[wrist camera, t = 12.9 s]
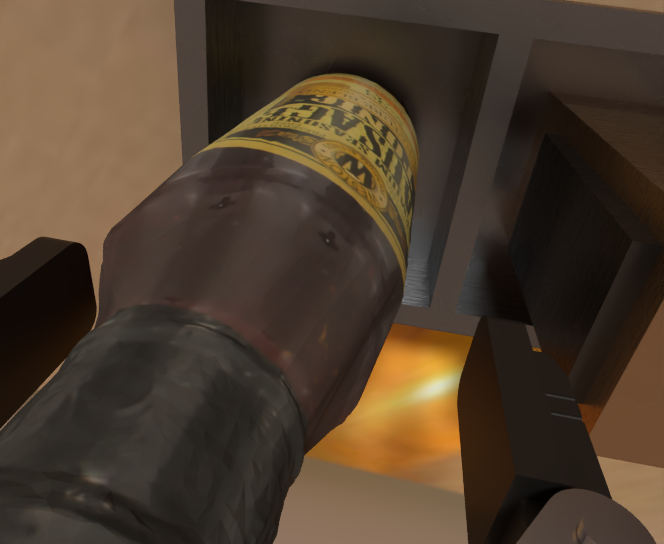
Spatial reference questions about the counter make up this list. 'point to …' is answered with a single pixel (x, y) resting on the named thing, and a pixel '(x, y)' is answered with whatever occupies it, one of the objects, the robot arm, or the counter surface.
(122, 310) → the sauce bottle
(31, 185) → the counter surface
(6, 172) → the counter surface
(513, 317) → the two-compartment tray
